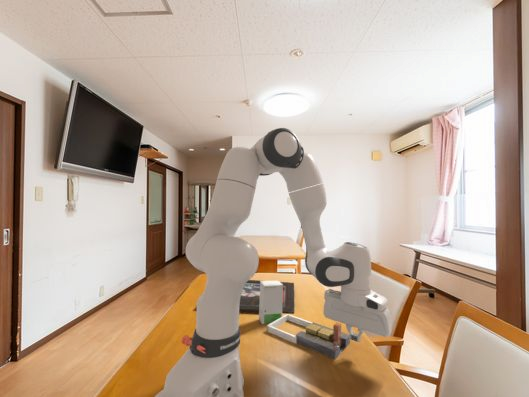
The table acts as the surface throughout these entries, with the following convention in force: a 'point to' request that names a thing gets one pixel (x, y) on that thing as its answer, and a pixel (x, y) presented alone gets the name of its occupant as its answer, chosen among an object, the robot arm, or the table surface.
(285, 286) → the religious icon
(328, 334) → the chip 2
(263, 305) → the skincare box
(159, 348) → the table surface
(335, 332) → the copper metal bar
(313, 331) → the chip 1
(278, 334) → the tray
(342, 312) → the robot arm
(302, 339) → the slot bed
